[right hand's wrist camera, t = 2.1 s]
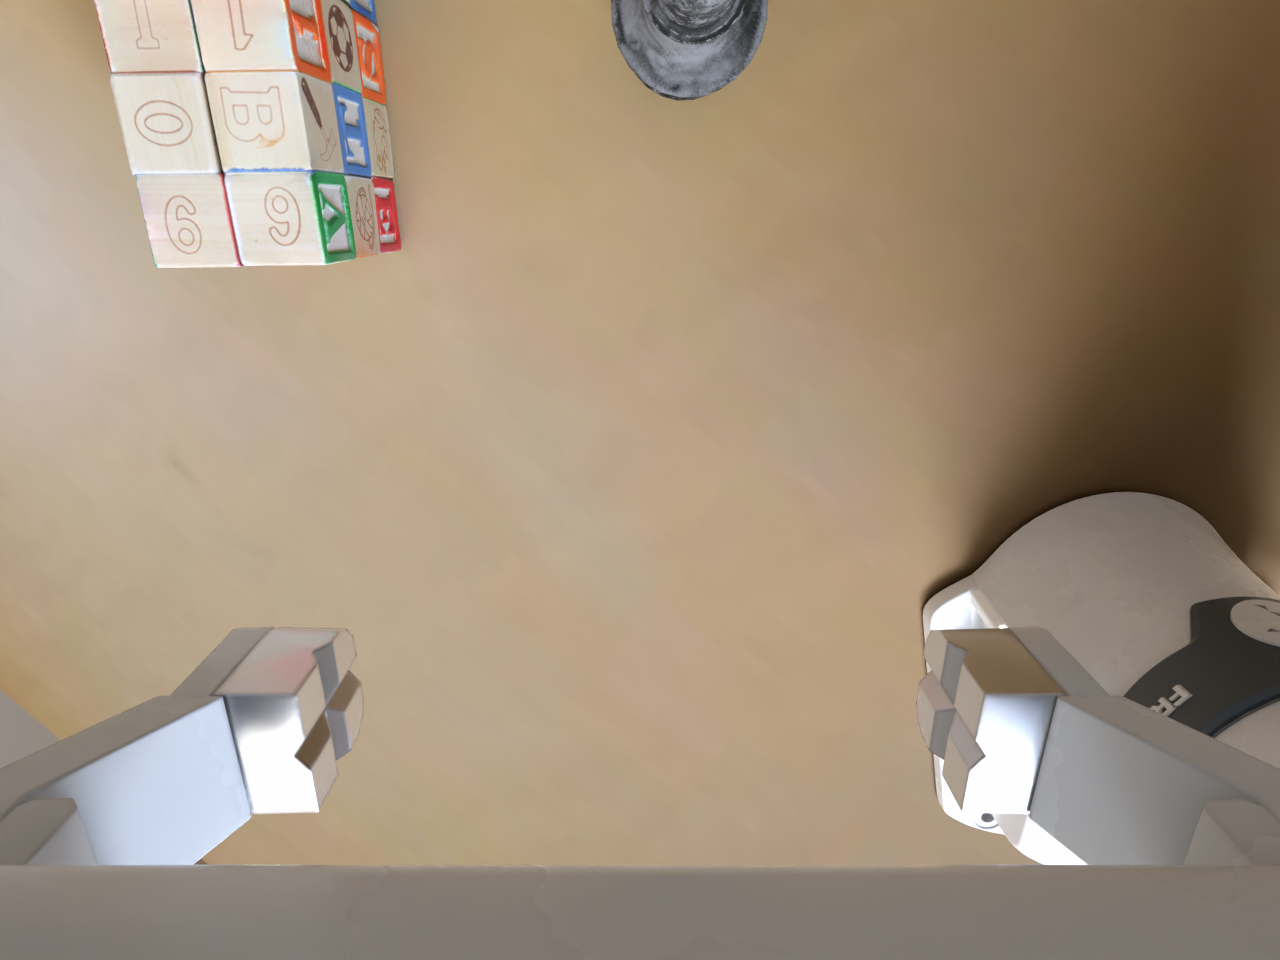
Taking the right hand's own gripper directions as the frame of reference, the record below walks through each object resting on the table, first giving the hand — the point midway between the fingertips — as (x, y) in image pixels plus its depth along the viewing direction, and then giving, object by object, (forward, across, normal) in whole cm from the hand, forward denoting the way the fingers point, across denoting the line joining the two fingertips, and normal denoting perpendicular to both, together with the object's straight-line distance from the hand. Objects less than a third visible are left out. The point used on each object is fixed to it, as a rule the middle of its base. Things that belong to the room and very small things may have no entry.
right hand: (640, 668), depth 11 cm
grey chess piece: (+27, -2, -13) cm, 30 cm away
